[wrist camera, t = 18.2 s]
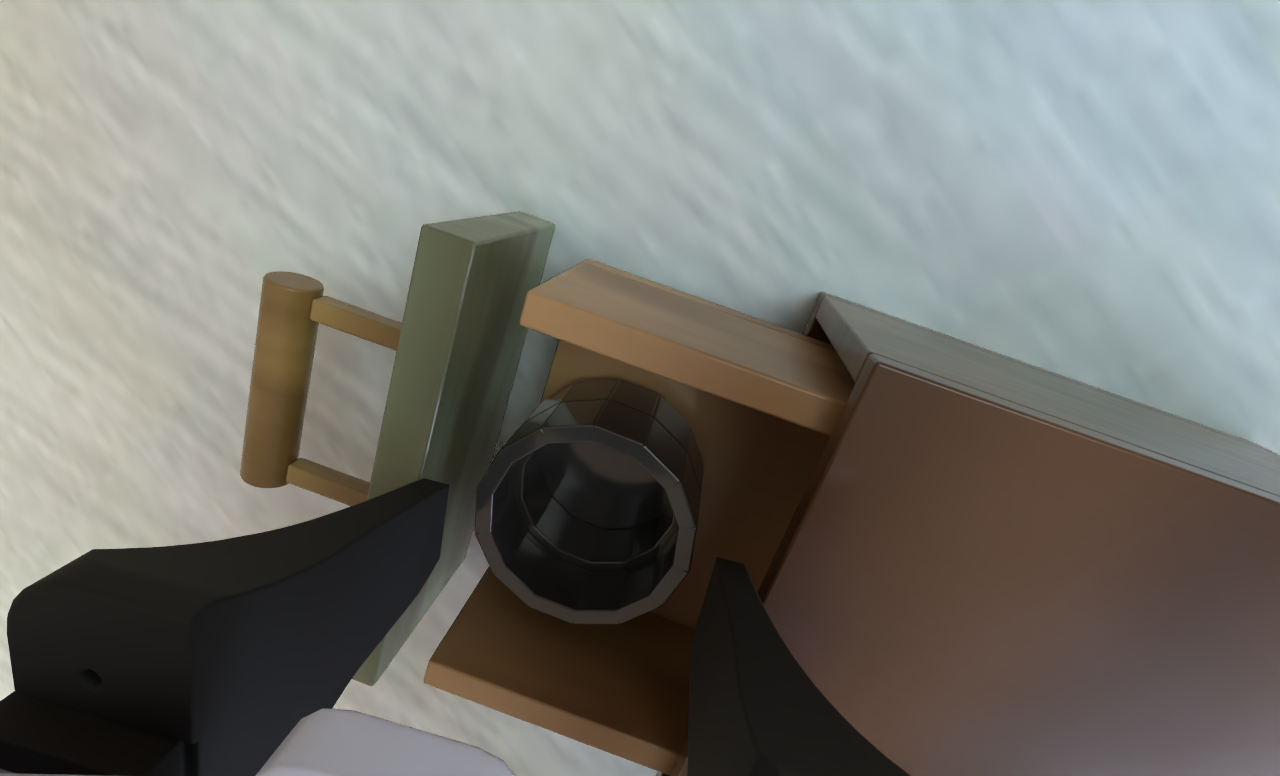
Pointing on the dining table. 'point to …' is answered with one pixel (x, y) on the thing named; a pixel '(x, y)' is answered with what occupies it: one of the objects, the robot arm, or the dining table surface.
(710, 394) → the drawer
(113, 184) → the dining table surface
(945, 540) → the cabinet
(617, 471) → the cup
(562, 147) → the dining table surface
